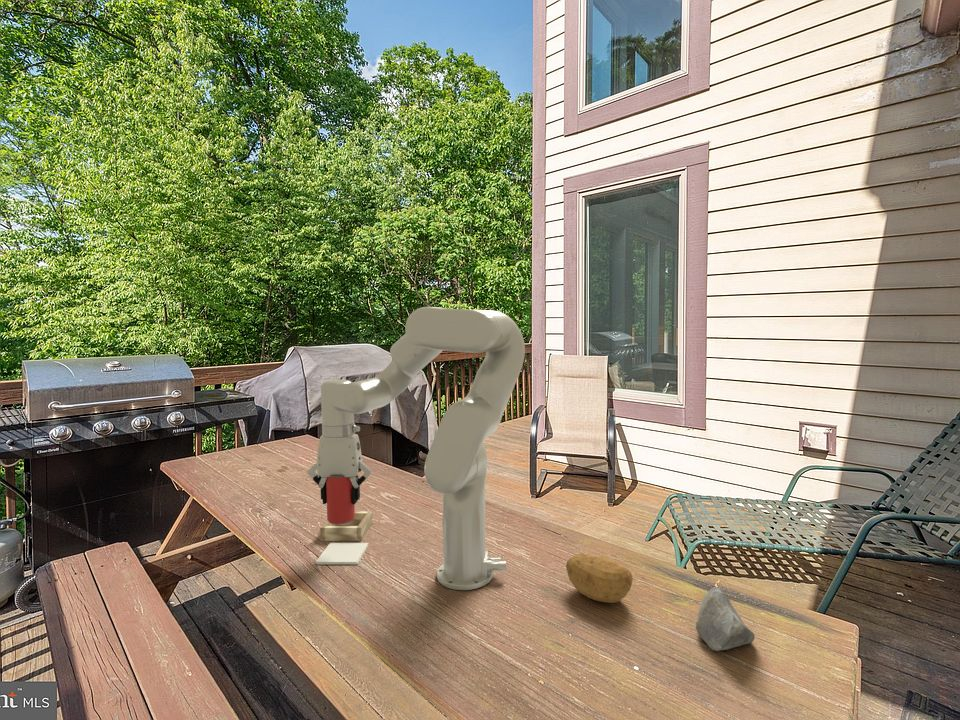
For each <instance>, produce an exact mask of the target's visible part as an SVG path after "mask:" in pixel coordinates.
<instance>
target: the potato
mask: <svg viewBox="0 0 960 720" xmlns="http://www.w3.org/2000/svg"><path fill="white" fill-rule="evenodd" d="M565 568H566V572H567V576H568V580H569V581H570V582H571V584H572V585H573V587H574V588H575V589H576V590H577V592H579V593H580V594H581V595H584V596H585V597H586V598H588V599H592V600H593V601H597V602H602V603H603V602H604V603H608V604H609V603H610V604H613V603H618V602H619V601H621V600H622V599H624V598H626V596H627V595H628V593H629V591H630V590H631V588H632V586H633V585H632V584H633V579H634V578H633V575H632V572H631V571H630V570H629V569H628V568H627V567H626V566H625V565H622V564H620V563H618V562H616V561H614V560H612V559H610V558H608V557H606V556H601V555H593V554H588V553H583V552H582V553H579V554H574V555H573V556H571V557H570V558H569V559H568V560H567V561H566V565H565Z"/></svg>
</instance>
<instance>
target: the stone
mask: <svg viewBox="0 0 960 720" xmlns="http://www.w3.org/2000/svg"><path fill="white" fill-rule="evenodd" d="M697 616H698V617H697V621H696V623H695V629H696V631H697V633H698V636H699V637H700V639H702V640H703V641H704V643H706V644H707V646H708V648H710V649H711V650H712V651H714V652H720V651H725V650H726V651H727V650H731V649H734V648H737V647H741V646H743V645H748V644H751V643H753V642H754V640H755V638H756V637H755V633H754V632H753V631H752V630H751V629H750V628H748V626H746V625H745V624H744V622H743V621H742V618H741V616H740V615H739V614H738V612H737V611H736V609H735V608H734V606H733V605H732V603H731V601H730V598H729V597H728V596H727V595H726V594H724V592H723V590H722V588H721V587H720V586H714V587H711V588H710V589H709V590H708V591H707V593H705V595H704V597H703V598H702V601H701V603H700V606H699V610H698V615H697Z"/></svg>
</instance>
